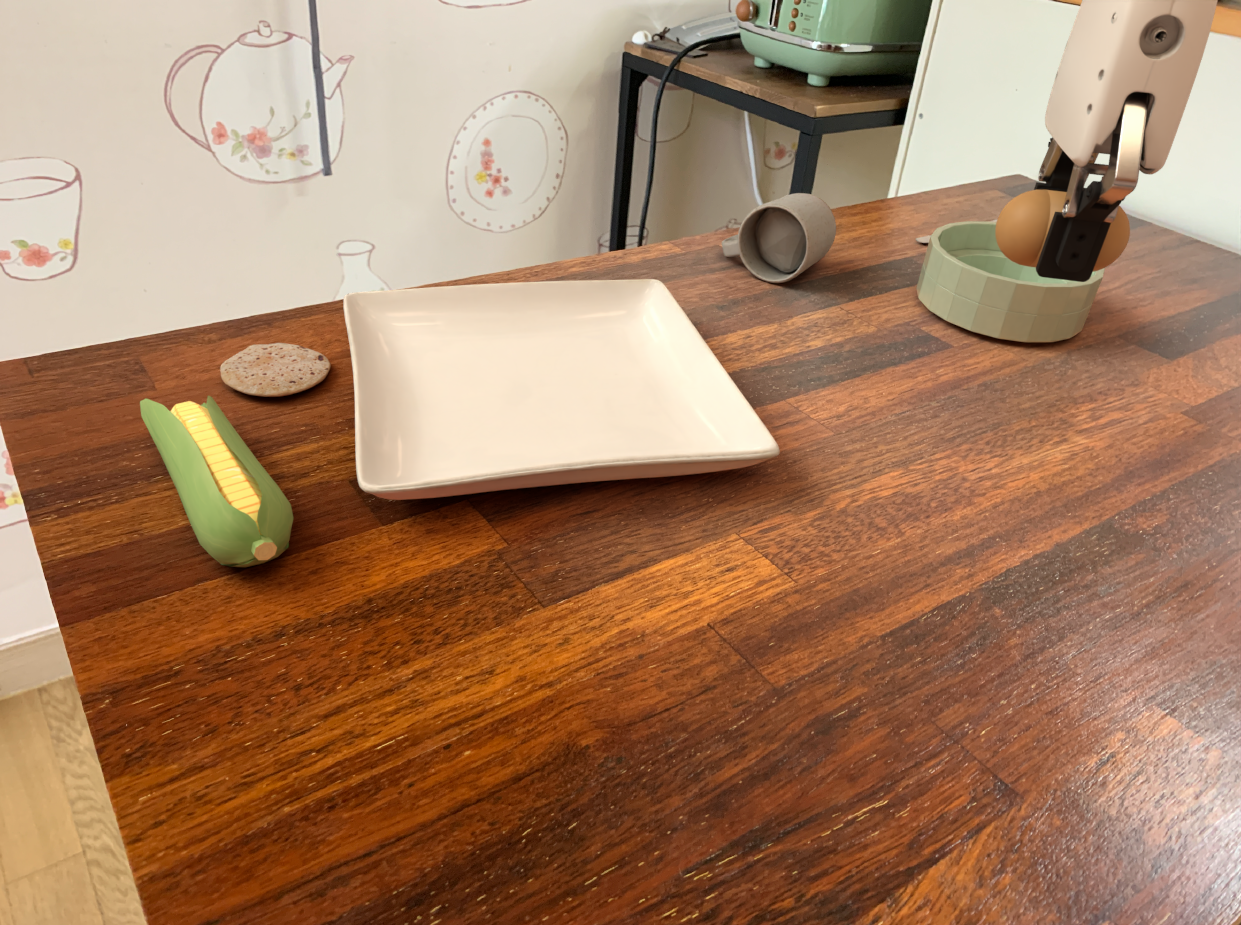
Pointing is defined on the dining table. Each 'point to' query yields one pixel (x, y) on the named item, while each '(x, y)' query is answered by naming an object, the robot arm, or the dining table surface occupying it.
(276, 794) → the dining table surface
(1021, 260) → the tan rounded oval piece
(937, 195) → the dining table surface
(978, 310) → the bowl
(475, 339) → the square plate
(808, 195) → the ceramic mug
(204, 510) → the edible corn
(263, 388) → the flatbread
